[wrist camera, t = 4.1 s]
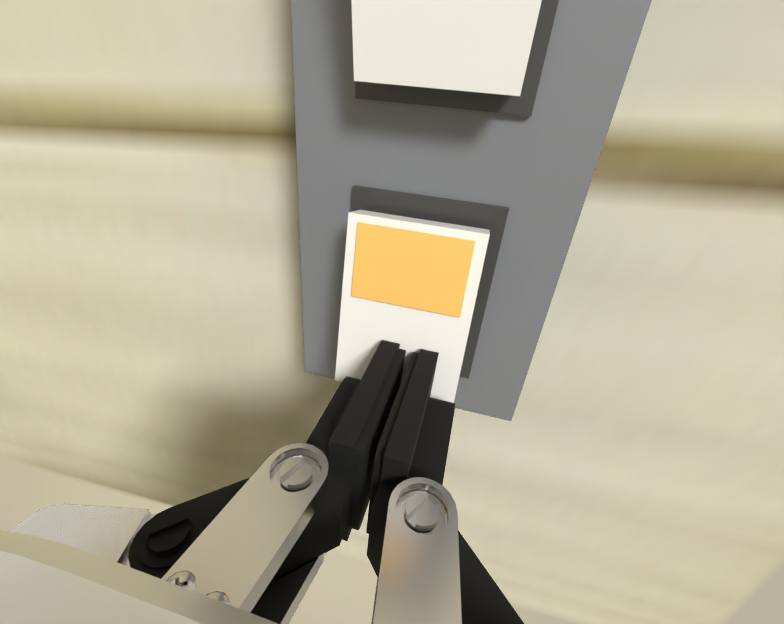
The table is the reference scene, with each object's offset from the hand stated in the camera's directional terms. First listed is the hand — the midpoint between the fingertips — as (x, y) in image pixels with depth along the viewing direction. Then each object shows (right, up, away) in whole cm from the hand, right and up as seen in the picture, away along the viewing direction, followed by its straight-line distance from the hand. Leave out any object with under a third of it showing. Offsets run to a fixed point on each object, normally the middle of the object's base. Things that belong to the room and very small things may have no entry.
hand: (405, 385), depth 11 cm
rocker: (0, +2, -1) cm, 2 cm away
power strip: (+2, +16, -2) cm, 16 cm away
